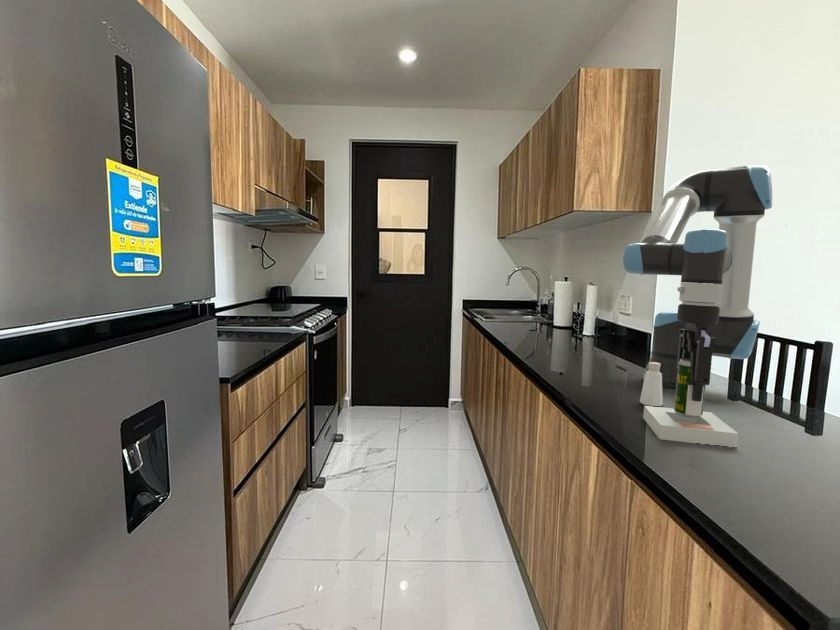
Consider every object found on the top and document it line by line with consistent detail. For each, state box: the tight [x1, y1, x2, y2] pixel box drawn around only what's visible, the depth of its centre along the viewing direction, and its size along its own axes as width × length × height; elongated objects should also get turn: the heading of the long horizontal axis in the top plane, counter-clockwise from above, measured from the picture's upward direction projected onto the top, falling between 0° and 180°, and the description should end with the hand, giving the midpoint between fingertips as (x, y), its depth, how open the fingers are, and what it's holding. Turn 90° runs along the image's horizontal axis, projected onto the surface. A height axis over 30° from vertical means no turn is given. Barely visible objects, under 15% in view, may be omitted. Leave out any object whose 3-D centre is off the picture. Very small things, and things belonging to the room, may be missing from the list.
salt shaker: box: [639, 361, 664, 407], centre depth 117 cm, size 5×5×11 cm
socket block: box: [642, 405, 739, 448], centre depth 97 cm, size 14×14×3 cm
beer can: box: [673, 358, 707, 418], centre depth 96 cm, size 5×5×12 cm
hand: (688, 410), depth 96 cm, fingers closed on beer can, 5 cm apart
